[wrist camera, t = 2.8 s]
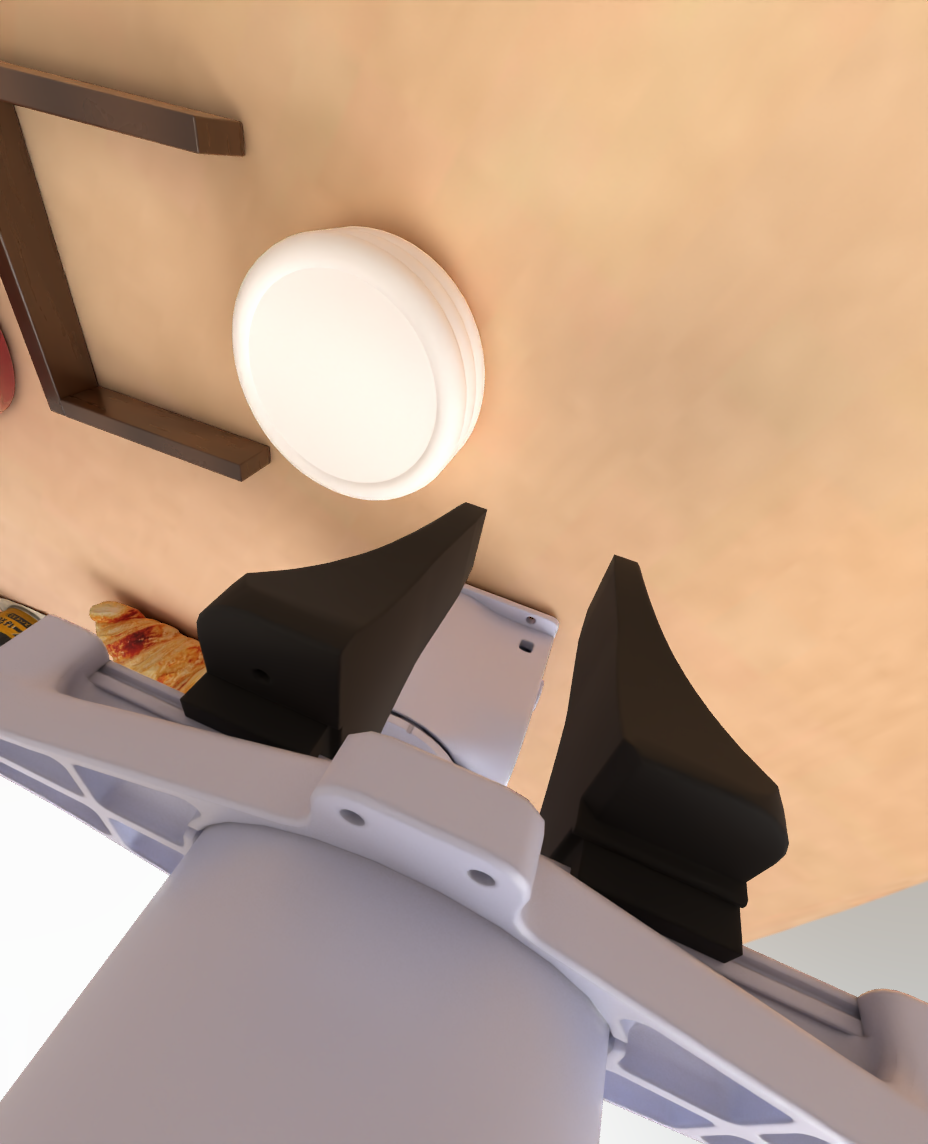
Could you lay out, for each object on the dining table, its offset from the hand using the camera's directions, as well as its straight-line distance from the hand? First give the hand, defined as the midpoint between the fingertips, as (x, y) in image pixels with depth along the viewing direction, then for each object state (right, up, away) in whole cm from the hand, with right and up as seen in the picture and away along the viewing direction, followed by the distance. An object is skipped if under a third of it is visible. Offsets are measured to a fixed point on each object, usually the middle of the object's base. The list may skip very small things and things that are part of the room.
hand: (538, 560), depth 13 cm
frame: (-16, +13, +10) cm, 23 cm away
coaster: (-6, +9, +9) cm, 14 cm away
